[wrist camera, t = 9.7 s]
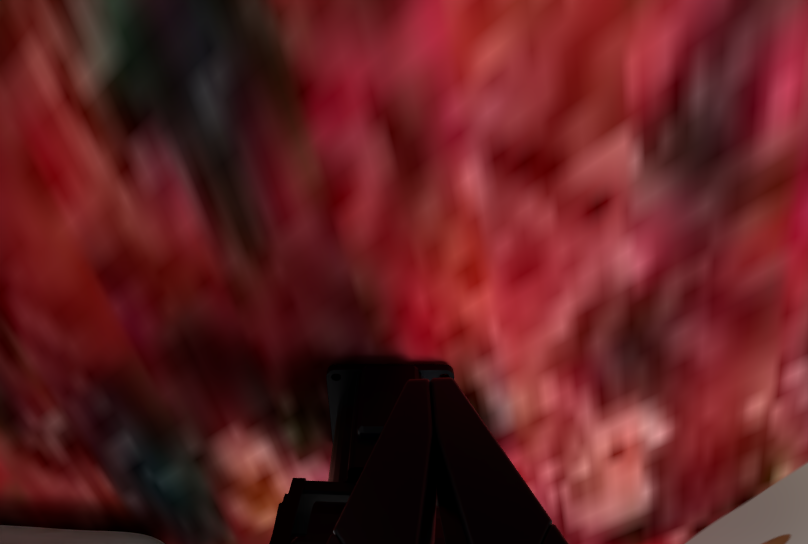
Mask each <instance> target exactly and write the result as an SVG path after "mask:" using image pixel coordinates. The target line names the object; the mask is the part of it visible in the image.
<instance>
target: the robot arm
mask: <svg viewBox="0 0 808 544" xmlns="http://www.w3.org/2000/svg"><path fill="white" fill-rule="evenodd" d="M444 373H445V374H447V375H441V374H444ZM334 374H339V375H334ZM326 378H327V389H328V399H329V409H330V419H331V430H332V440H333V449H332V456H331V464H330V472H329V479H328V481H306V478H293V480H292V483H291V487H290V490H289V493H288V494H285V496H284V499H283V502H282V503H280V504H279V507H278V511H277V516H276V521H275V525H274V530H273V534H272V537H271V541H270V543H269V544H568V543H567V541H566V540H565V538H564V537H563V535H562V534H561V533H560V531H559V530H558V528H557V527H556V525H554V524H552V520H551V519H550V517H549V516H548V514H547V513H546V511H545V510H544V508H543V507H542V506H541V504H540V503H539V501H538V500H537V498H536V497H535V496H534V494H533V493H532V491H531V490H530V488H529V487H528V485H527V484H526V483H525V481H524V480H523V478H522V477H521V475H520V474H519V472H518V471H517V470H516V468H515V467H514V465H513V464H512V462H511V461H510V460H509V458H508V457H507V455H506V454H505V452H504V451H503V449H502V448H501V447H500V445H499V444H498V442H497V441H496V439H495V438H494V436H493V435H492V434H491V432H490V431H489V429H488V428H487V426H486V425H485V424H484V422H483V421H482V419H481V418H480V416H479V415H478V413H477V412H476V411H475V409H474V408H473V406H472V405H471V403H470V402H469V401H468V399H467V398H466V396H465V395H464V393H463V392H462V390H461V389H460V388H459V386H458V385H457V383H456V382H455V381H454V372H453V368H452V367H451V366H449V365H444V364H336V365H332V366H330V367H329V368H328V371H327V377H326Z"/></svg>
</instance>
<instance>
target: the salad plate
mask: <svg viewBox="0 0 808 544" xmlns="http://www.w3.org/2000/svg"><path fill="white" fill-rule="evenodd" d="M0 544H165V543H164V542H162V541H160V540H158V539H156V538H154V537H152V536H148V535H144V534H139V533H132V532H119V531H91V530H72V529H57V528H42V527H27V526H10V525H0Z"/></svg>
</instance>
